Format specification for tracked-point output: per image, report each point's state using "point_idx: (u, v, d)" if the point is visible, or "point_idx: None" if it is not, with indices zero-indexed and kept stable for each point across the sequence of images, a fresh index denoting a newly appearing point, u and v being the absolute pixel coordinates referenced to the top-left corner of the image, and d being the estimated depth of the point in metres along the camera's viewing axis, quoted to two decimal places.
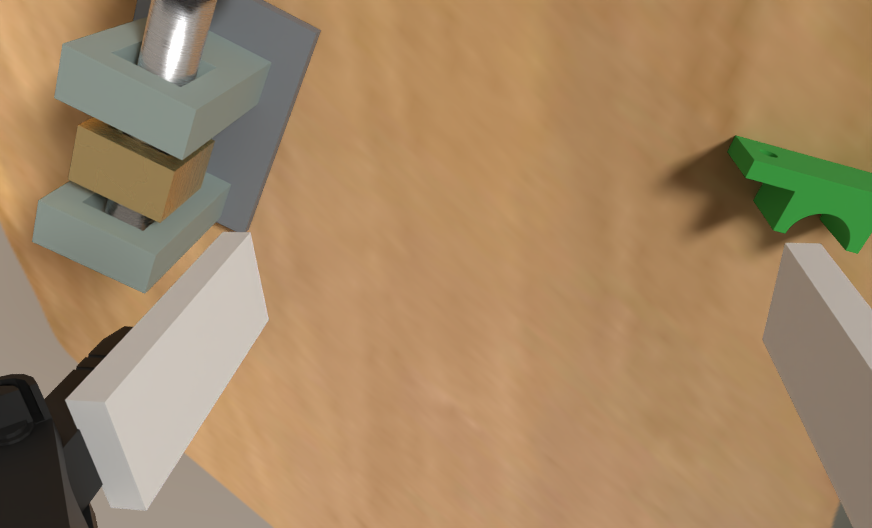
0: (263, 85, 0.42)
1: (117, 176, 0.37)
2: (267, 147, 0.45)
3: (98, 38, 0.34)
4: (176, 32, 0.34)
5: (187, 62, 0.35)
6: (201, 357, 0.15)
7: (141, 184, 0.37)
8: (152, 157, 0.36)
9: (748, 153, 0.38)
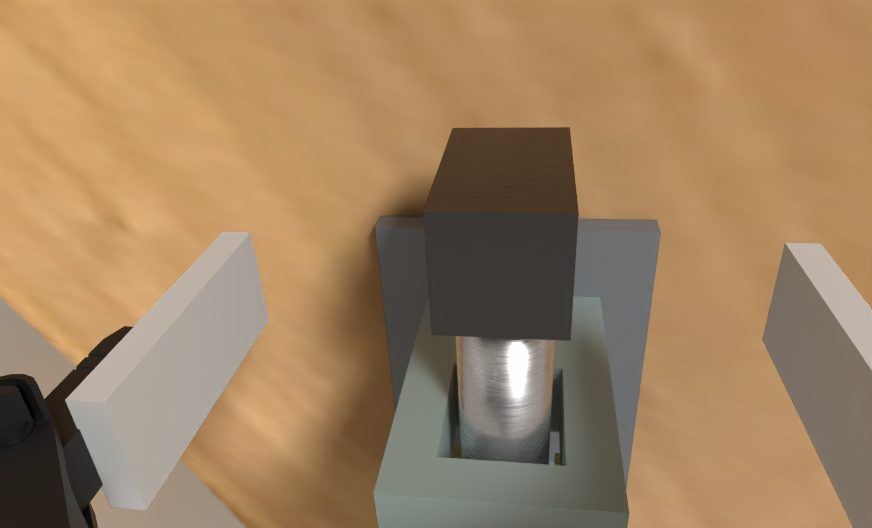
0: None
1: None
2: (626, 403, 0.29)
3: (403, 434, 0.20)
4: (521, 380, 0.19)
5: (544, 407, 0.20)
6: (201, 357, 0.15)
7: None
8: None
9: None
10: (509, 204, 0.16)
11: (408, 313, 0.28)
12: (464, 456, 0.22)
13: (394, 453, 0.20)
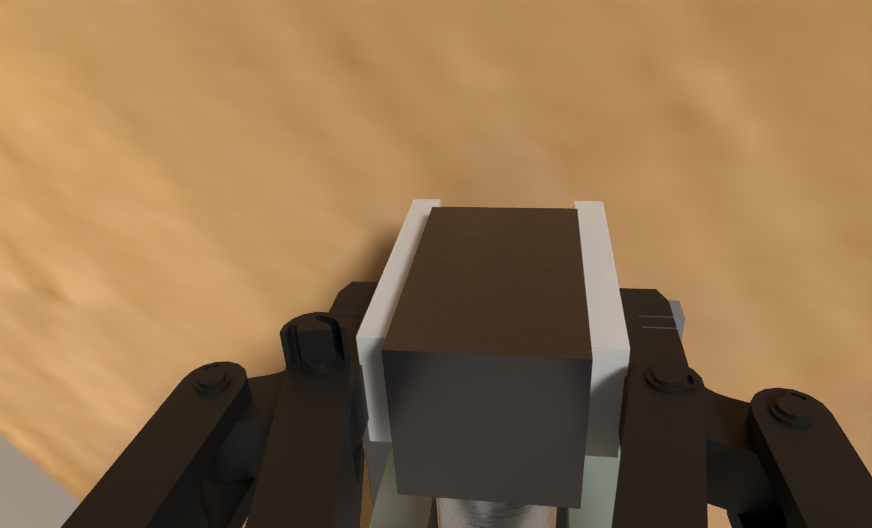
0: None
1: None
2: None
3: None
4: None
5: None
6: None
7: None
8: None
9: None
10: (498, 339, 0.12)
11: None
12: None
13: None
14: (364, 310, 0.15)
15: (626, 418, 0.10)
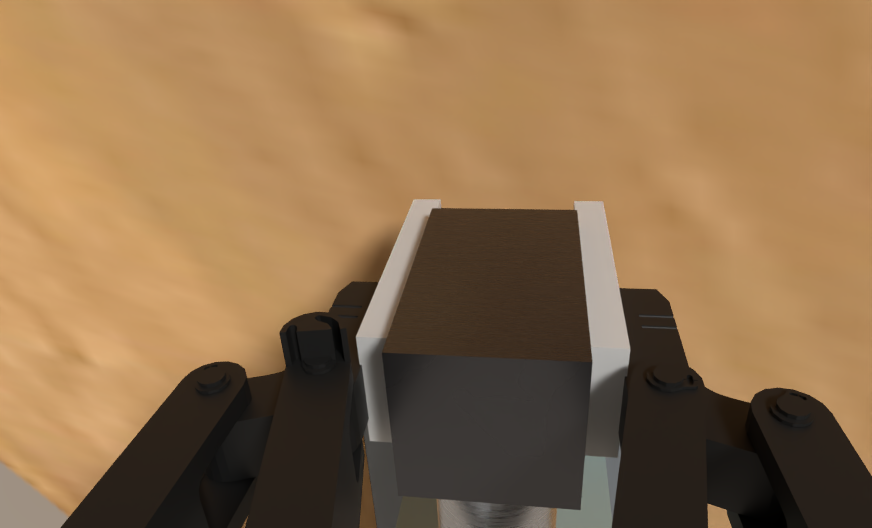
0: None
1: None
2: None
3: None
4: None
5: None
6: None
7: None
8: None
9: None
10: (498, 342, 0.12)
11: (393, 461, 0.26)
12: None
13: None
14: (364, 310, 0.15)
15: (626, 418, 0.10)
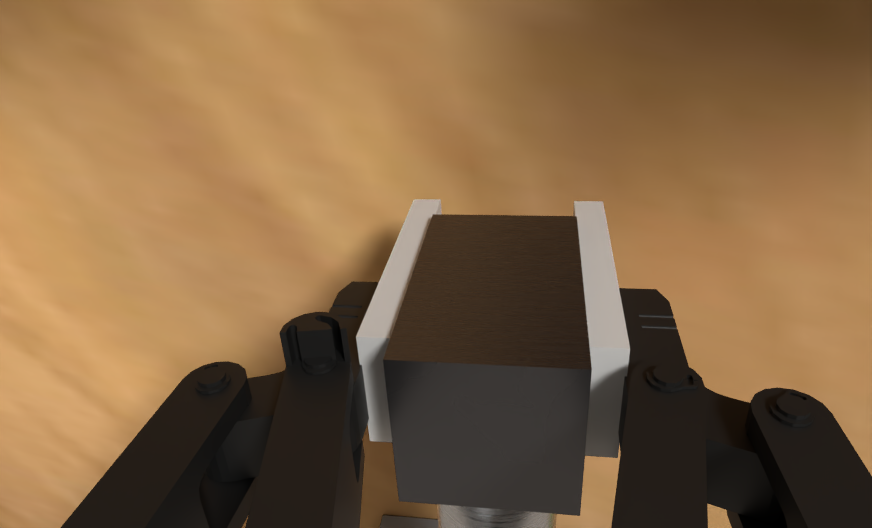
0: None
1: None
2: None
3: None
4: None
5: None
6: None
7: None
8: None
9: None
10: (498, 350, 0.12)
11: None
12: None
13: None
14: (364, 310, 0.15)
15: (626, 418, 0.10)
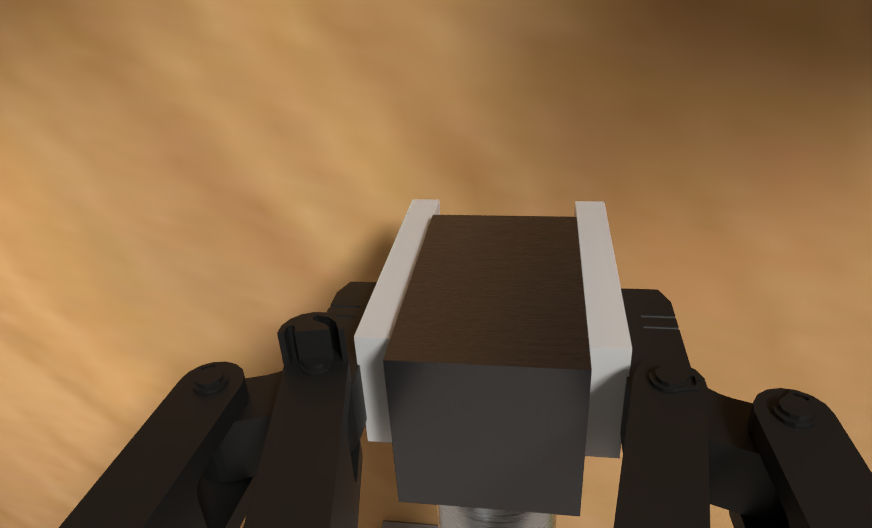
0: None
1: None
2: None
3: None
4: None
5: None
6: None
7: None
8: None
9: None
10: (498, 350, 0.12)
11: None
12: None
13: None
14: (362, 310, 0.15)
15: (628, 418, 0.10)
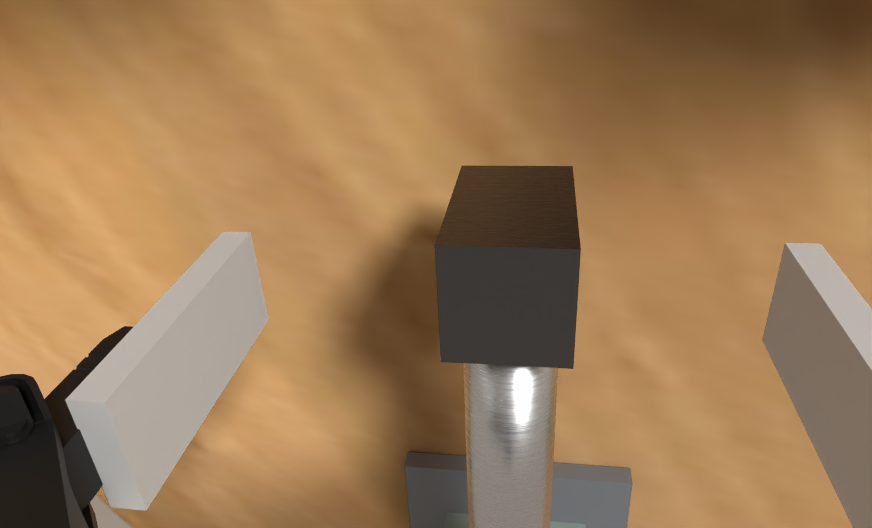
0: None
1: None
2: None
3: None
4: (526, 406, 0.20)
5: (548, 432, 0.21)
6: (201, 357, 0.15)
7: None
8: None
9: None
10: (515, 239, 0.17)
11: (429, 525, 0.35)
12: (470, 480, 0.23)
13: None
14: None
15: None
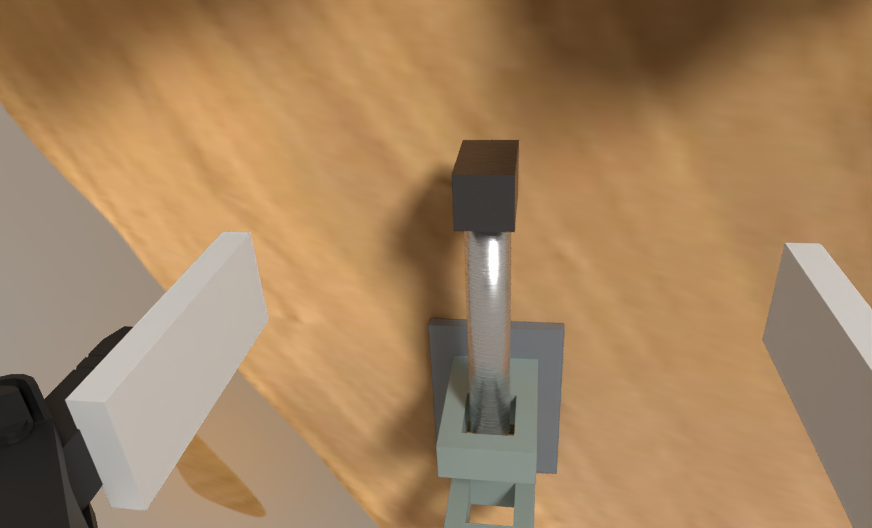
0: (537, 375, 0.55)
1: None
2: (554, 411, 0.57)
3: (446, 424, 0.48)
4: (495, 257, 0.41)
5: (506, 273, 0.42)
6: (201, 357, 0.15)
7: None
8: None
9: None
10: (487, 171, 0.38)
11: (443, 365, 0.56)
12: (468, 303, 0.44)
13: (443, 431, 0.48)
14: None
15: None
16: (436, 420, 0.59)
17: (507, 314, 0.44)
